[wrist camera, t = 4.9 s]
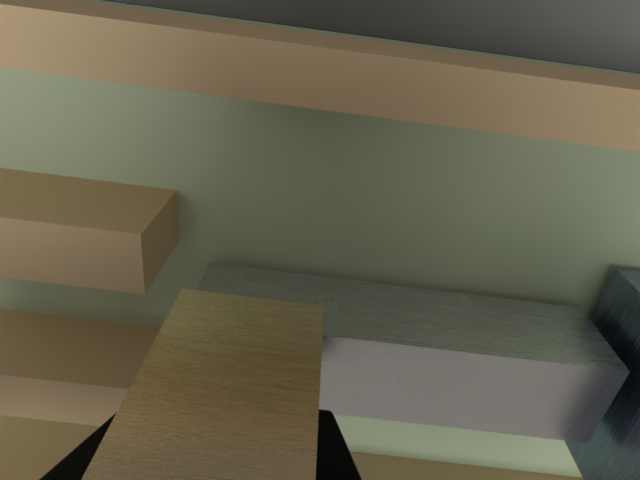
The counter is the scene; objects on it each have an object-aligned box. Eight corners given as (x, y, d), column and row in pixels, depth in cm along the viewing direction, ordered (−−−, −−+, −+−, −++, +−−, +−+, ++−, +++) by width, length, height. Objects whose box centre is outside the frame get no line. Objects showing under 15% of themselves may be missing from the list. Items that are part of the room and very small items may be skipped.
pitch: (713, 486, 18) (792, 591, 15) (1, 406, 17) (-73, 498, 14) (1021, 125, 11) (1283, 176, 8) (-127, -32, 10) (-324, -40, 7)
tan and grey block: (585, 410, 14) (849, 861, 7) (208, 366, 14) (62, 788, 7) (661, 273, 12) (1191, 741, 4) (210, 217, 12) (-17, 617, 4)
